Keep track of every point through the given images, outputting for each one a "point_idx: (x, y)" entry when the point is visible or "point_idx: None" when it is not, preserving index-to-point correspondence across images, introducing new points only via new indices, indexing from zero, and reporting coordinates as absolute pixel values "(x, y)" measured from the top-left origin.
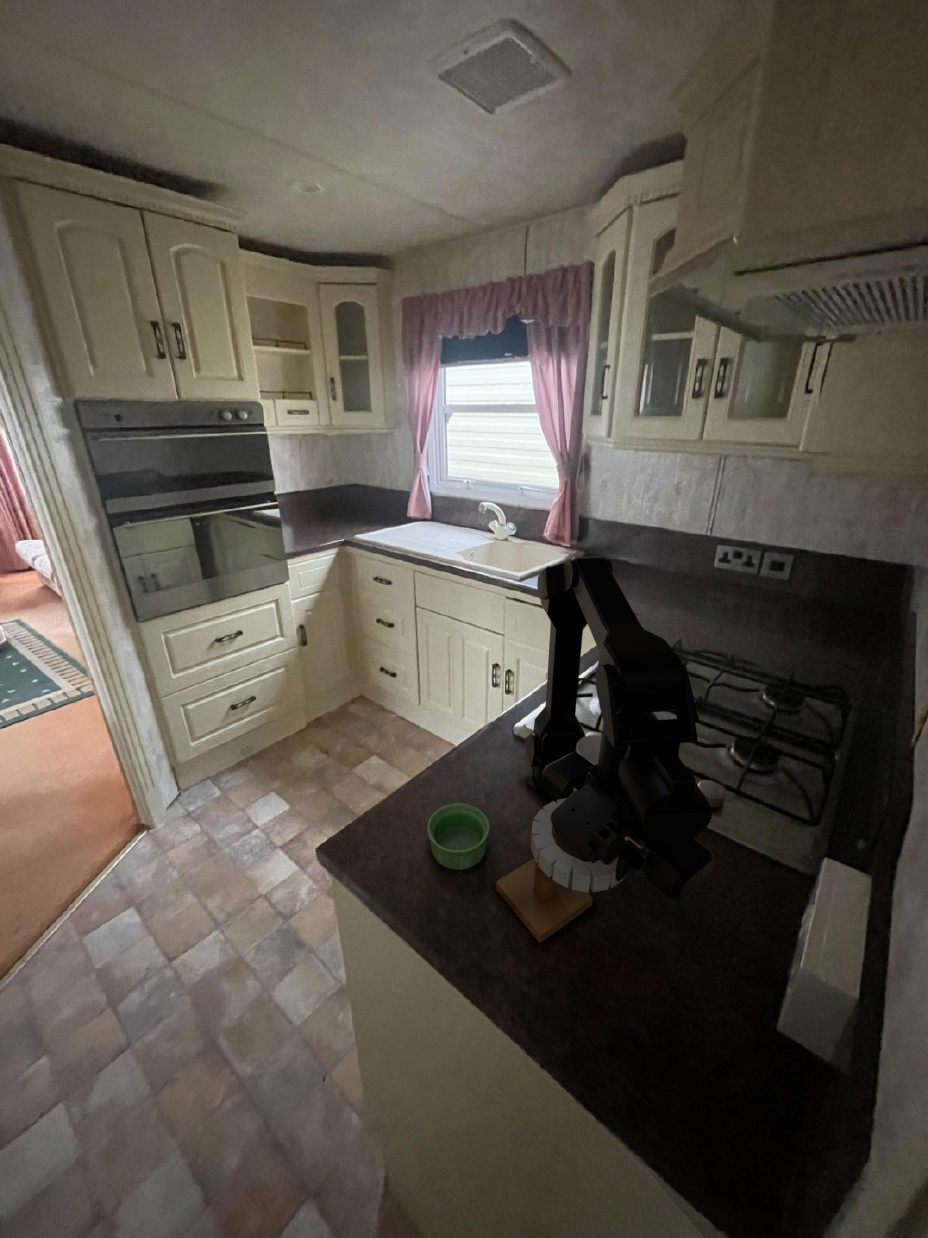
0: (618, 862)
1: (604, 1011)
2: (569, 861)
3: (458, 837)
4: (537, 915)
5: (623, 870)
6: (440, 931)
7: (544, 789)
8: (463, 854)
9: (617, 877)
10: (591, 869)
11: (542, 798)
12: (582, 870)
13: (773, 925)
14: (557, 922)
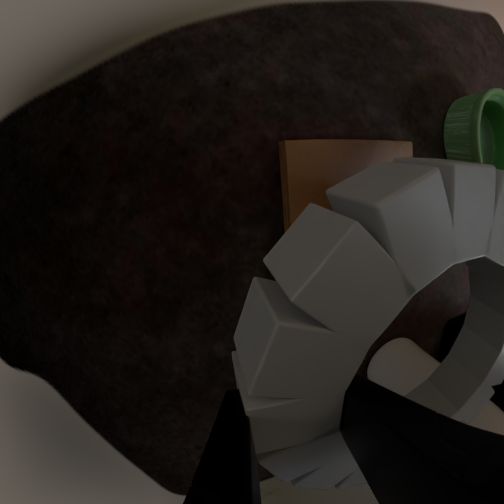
0: (240, 499)
1: (117, 177)
2: (417, 256)
3: (482, 151)
4: (323, 163)
5: (197, 479)
6: (374, 21)
7: None
8: (473, 114)
9: (230, 405)
10: (326, 333)
11: (457, 317)
12: (349, 287)
13: (143, 458)
14: (290, 191)
